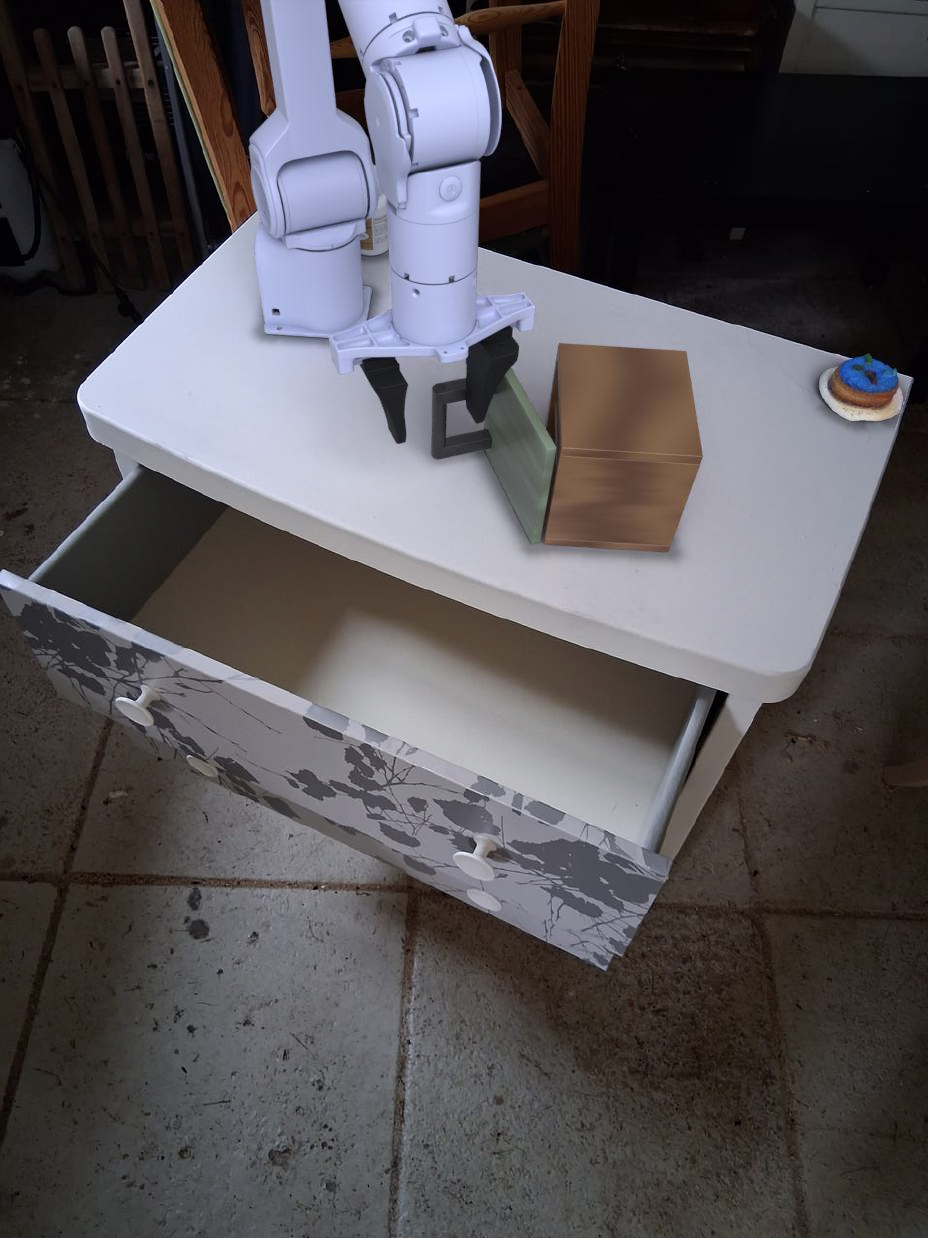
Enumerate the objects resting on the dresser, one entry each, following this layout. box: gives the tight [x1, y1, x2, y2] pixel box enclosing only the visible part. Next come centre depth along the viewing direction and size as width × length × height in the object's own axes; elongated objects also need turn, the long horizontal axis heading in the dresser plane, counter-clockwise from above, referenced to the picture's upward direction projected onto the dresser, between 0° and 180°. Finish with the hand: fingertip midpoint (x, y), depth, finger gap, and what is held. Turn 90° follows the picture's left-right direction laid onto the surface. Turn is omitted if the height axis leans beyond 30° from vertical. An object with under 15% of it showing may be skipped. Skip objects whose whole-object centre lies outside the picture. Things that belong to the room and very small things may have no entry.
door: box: [430, 367, 556, 545], centre depth 69 cm, size 6×12×10 cm, turn 19°
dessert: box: [818, 353, 904, 422], centre depth 82 cm, size 8×7×6 cm
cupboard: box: [543, 342, 704, 553], centre depth 70 cm, size 10×12×11 cm
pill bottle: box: [360, 164, 389, 257], centre depth 91 cm, size 4×4×8 cm
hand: (435, 425), depth 68 cm, fingers open, 6 cm apart
